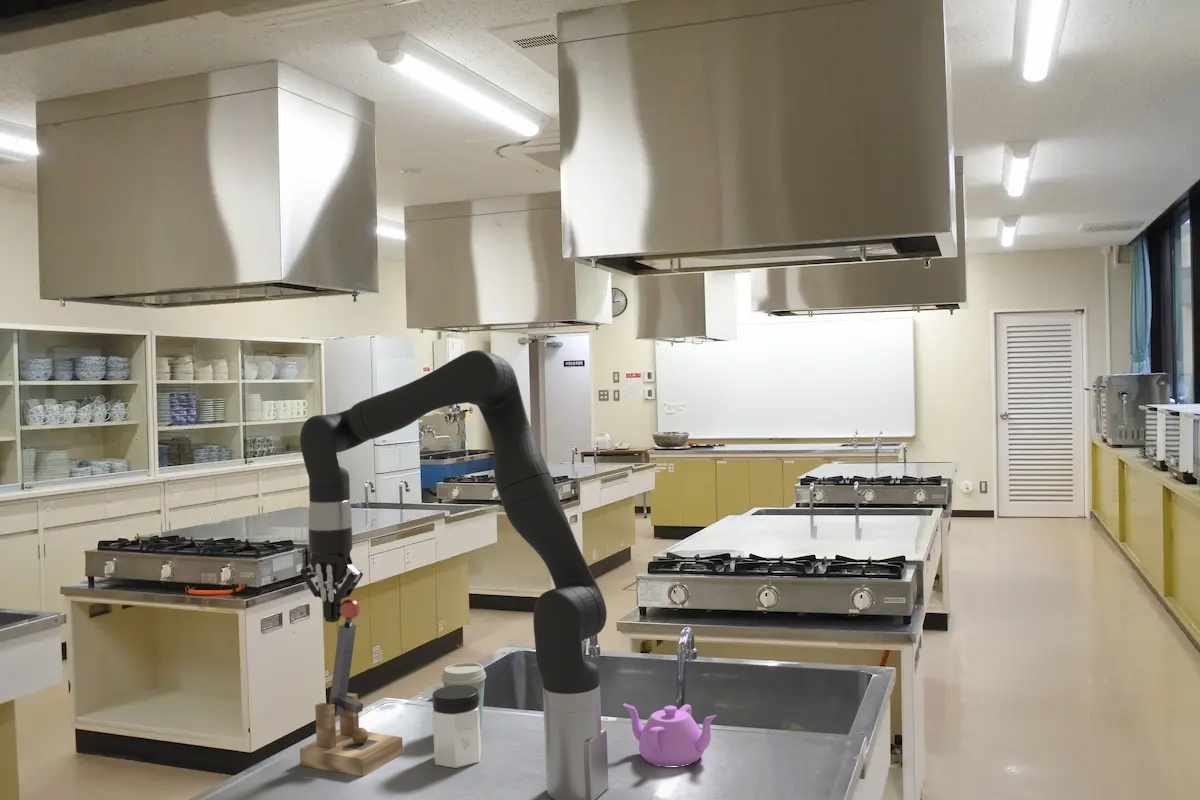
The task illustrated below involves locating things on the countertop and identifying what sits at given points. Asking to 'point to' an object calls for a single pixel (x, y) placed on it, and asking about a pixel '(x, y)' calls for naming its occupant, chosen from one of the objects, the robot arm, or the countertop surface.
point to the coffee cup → (466, 679)
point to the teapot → (671, 736)
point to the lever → (344, 660)
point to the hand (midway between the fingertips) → (332, 621)
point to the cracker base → (347, 744)
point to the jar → (456, 726)
